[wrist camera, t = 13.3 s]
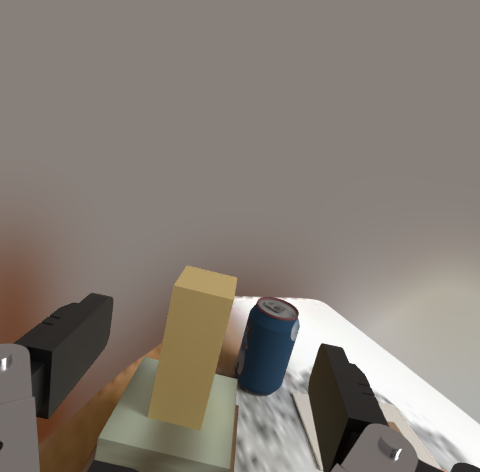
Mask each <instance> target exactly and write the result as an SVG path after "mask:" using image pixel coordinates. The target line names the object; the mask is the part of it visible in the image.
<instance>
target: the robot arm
mask: <svg viewBox="0 0 480 472" xmlns="http://www.w3.org/2000/svg"><path fill="white" fill-rule="evenodd" d="M112 310H113V298H112V297H110V296H105V295H101V294H95V293H91V294H89V295H88V296H87V297H86V298H85V299H83V300H82V301H81V302H80V303H71V304H68V305H66V306H64V307H61V308H59V309H58V310H56V311H55V312H54V313H52V314H51V315H50V317H47V318H46V319H45V320H43V321H42V323H40V324H38V325H37V326H36V327H34V328H33V329H32V330H30V331H29V332H28V333H26V334H25V335H24V336H23V337H21V338H20V339H19V340H17V341H16V342H15V343H13V344H0V472H40V464H39V450H38V436H37V423H36V417H40V418H44V419H49V418H50V416H51V415H52V414H53V413H54V411H55V410H56V409H57V408H58V406H59V405H60V404H61V403H62V401H63V400H64V399H65V398H66V396H67V395H68V394H69V393H70V391H71V390H72V389H73V387H74V386H75V385H76V384H77V383H78V381H79V380H80V379H81V378H82V376H83V375H84V374H85V373H86V371H87V370H88V369H89V368H90V366H91V365H92V364H93V363H94V361H95V360H96V359H97V358H98V356H99V355H100V354H101V352H102V351H103V350H104V348H105V346H106V344H107V342H108V339H109V335H110V327H111V318H112ZM308 395H309V400H310V405H311V410H312V415H313V421H314V426H315V431H316V436H317V441H318V446H319V451H320V456H321V461H322V466H323V471H324V472H444V471H442V470H440V469H438V468H436V467H434V466H431V465H429V464H427V463H425V462H423V461H421V460H420V459H418V456H417V453H416V451H415V449H414V447H413V446H412V444H411V443H410V442H409V441H408V440H407V439H406V438H405V437H404V436H403V435H402V434H400V433H399V432H397V431H396V430H394V429H392V428H390V427H389V425H388V423H387V420H386V418H385V416H384V414H383V412H382V410H381V408H380V406H379V403H378V401H377V399H376V397H374V393H373V391H372V389H371V388H370V384H369V382H368V380H367V378H366V376H365V374H364V373H363V372H362V371H361V370H360V369H359V368H358V367H357V366H356V365H355V364H351V363H349V361H348V359H347V357H346V354H345V352H344V350H343V348H342V347H337V346H332V345H328V344H323V343H322V344H321V345H320V347H319V350H318V353H317V356H316V360H315V363H314V366H313V369H312V373H311V376H310V380H309V387H308ZM87 472H139V471H137V470H135V469H133V468H129V467H125V466H120V465H116V464H111V463H107V462H102V461H98V460H93V462H92V463H91V465H90V467H89V469H88V471H87ZM451 472H480V468H478V467H476V466H473V465H470V464H467V463H457V464H455V465H454V466H453V467H452V470H451Z"/></svg>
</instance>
